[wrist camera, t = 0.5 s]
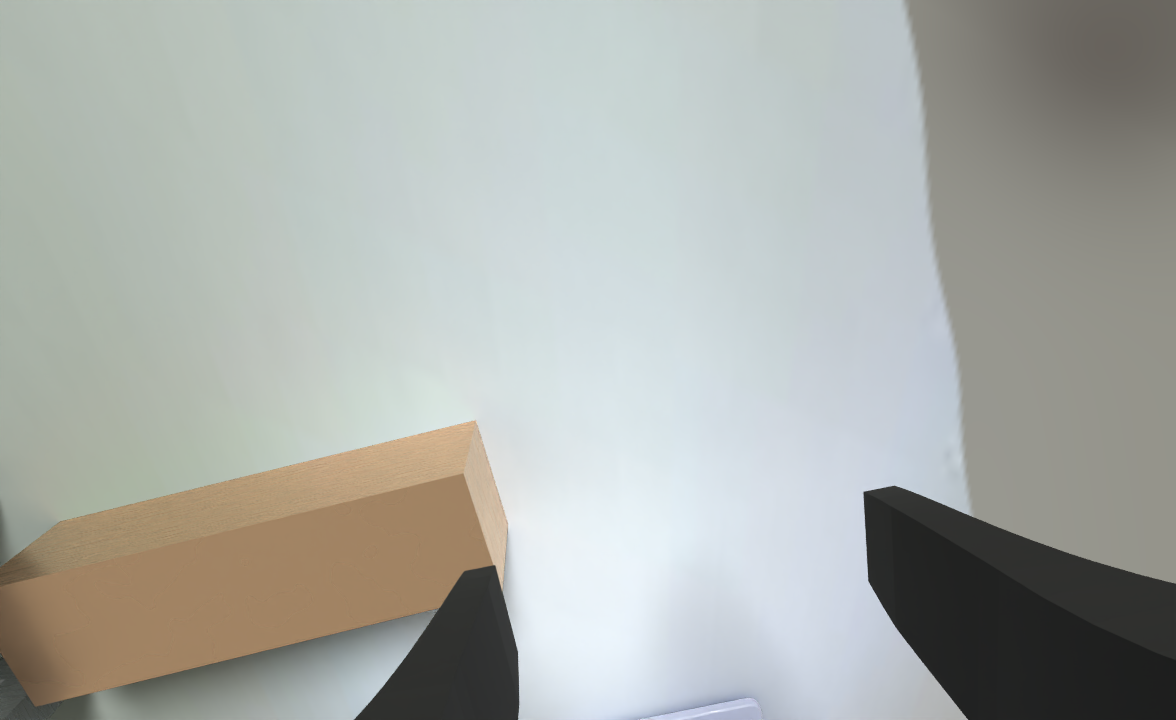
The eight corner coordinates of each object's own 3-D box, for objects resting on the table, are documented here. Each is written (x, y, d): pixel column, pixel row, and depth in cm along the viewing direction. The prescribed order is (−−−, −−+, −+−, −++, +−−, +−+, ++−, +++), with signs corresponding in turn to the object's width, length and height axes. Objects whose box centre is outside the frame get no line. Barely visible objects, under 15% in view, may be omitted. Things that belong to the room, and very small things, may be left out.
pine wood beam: (508, 519, 23) (502, 592, 19) (120, 614, 23) (35, 706, 19) (476, 416, 21) (463, 472, 18) (65, 517, 21) (-37, 595, 18)
